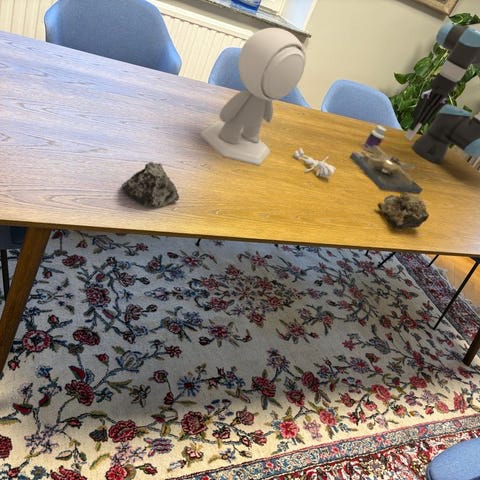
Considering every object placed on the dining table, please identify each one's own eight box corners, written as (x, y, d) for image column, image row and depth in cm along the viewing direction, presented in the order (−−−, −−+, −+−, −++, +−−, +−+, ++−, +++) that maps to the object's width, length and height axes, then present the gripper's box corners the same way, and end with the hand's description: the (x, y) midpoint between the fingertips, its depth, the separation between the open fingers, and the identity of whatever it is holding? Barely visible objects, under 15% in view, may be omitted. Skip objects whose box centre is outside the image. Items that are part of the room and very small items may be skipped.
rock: (137, 224, 94) (176, 198, 92) (110, 185, 93) (149, 157, 91) (155, 216, 107) (189, 193, 105) (131, 182, 106) (165, 158, 104)
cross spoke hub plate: (387, 162, 175) (391, 155, 174) (419, 193, 163) (425, 186, 161) (349, 157, 165) (354, 149, 163) (381, 189, 152) (386, 181, 150)
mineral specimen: (365, 203, 139) (382, 177, 134) (393, 206, 146) (411, 181, 140) (391, 234, 130) (411, 207, 124) (421, 236, 136) (441, 210, 131)
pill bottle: (375, 154, 178) (388, 133, 172) (362, 149, 177) (375, 127, 172) (374, 149, 182) (387, 128, 176) (362, 144, 182) (375, 122, 176)
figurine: (310, 140, 148) (347, 160, 141) (308, 153, 152) (344, 174, 145) (285, 155, 142) (322, 177, 135) (283, 168, 146) (319, 190, 138)
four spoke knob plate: (391, 155, 175) (397, 145, 172) (427, 189, 161) (435, 179, 158) (350, 148, 164) (356, 138, 161) (385, 184, 150) (392, 173, 147)
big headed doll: (234, 168, 125) (287, 43, 105) (188, 124, 136) (228, 4, 116) (281, 163, 139) (335, 52, 119) (235, 124, 149) (278, 16, 130)
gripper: (452, 76, 157) (412, 135, 170) (428, 67, 150) (389, 130, 163) (467, 85, 152) (425, 146, 165) (443, 77, 145) (402, 141, 158)
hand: (407, 138), depth 164 cm, fingers closed
